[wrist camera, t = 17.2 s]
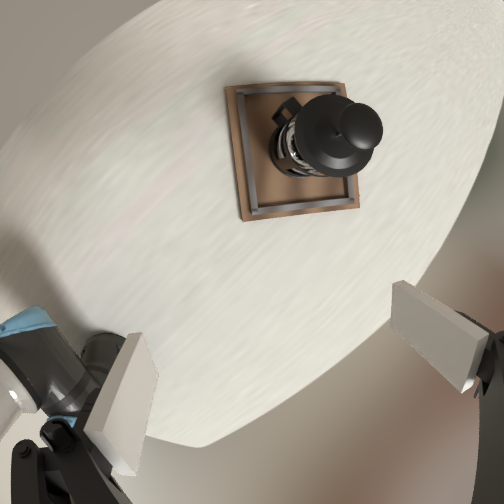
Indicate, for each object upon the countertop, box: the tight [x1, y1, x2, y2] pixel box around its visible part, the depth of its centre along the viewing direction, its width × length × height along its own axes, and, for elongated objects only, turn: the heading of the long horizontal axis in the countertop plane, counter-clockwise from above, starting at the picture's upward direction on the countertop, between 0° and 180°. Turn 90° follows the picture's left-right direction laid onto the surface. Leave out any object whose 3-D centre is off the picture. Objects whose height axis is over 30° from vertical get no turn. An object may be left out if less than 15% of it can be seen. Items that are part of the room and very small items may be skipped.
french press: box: [268, 94, 383, 178], centre depth 31 cm, size 12×9×23 cm
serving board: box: [226, 82, 360, 222], centre depth 42 cm, size 20×22×2 cm
